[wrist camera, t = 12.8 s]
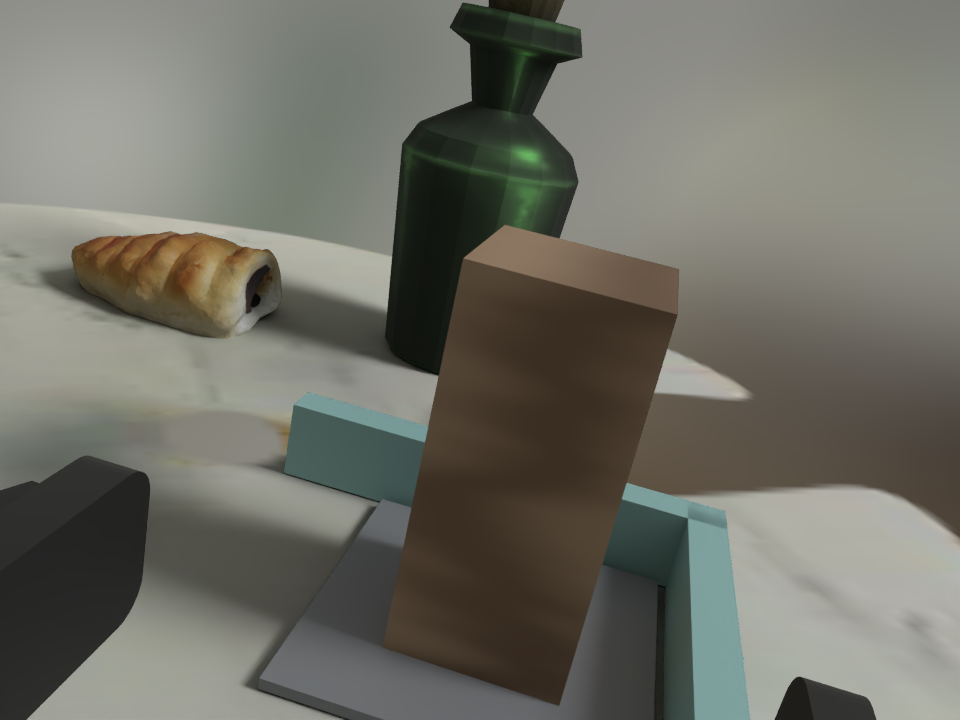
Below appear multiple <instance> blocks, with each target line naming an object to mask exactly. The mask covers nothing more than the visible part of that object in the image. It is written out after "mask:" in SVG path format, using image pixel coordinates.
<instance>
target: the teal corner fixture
mask: <svg viewBox="0 0 960 720" xmlns="http://www.w3.org/2000/svg"><path fill="white" fill-rule="evenodd" d="M427 430H428V426H425V425H422V424H418V423H415V422H411V421H408V420H404V419H401V418H397V417H394V416H390V415H387V414H383V413H380V412H376V411H373V410H369V409H366V408H362V407H359V406H355V405H352V404H348V403H345V402H341V401H338V400H334V399H331V398H327V397H324V396H320V395H317V394H313V393H310V392H308V393H307V394H306V395H304V396H303V397H302V398H301V399H300V400H299V401H298V402H296V403H295V404H294V407H293V414H292V421H291V427H290V434H289V441H288V448H287V454H286V461H285V468H284V473H286V474H289V475H293V476H296V477H299V478H303V479H306V480H310V481H313V482H316V483H320V484H323V485H326V486H330V487H333V488H336V489H340V490H343V491H346V492H350V493H353V494H356V495H360V496H363V497H366V498H370V499H373V500H376V501H380V503H379V505H378V506H377V508H376V509H375V510H374V512H373V513H372V515H371V516H370V518H369V519H368V521H367V522H366V524H365V525H364V526H363V528H362V529H361V531H360V532H359V534H358V535H357V537H356V538H355V540H354V541H353V542H352V544H351V545H350V547H349V548H348V550H347V551H346V553H345V554H344V555H343V557H342V558H341V560H340V561H339V563H338V564H337V566H336V567H335V569H334V570H333V571H332V573H331V574H330V576H329V577H328V579H327V580H326V582H325V583H324V585H323V586H322V587H321V589H320V590H319V592H318V593H317V595H316V596H315V598H314V599H313V601H312V602H311V603H310V605H309V606H308V608H307V609H306V611H305V612H304V614H303V615H302V617H301V618H300V619H299V621H298V622H297V624H296V625H295V627H294V628H293V630H292V631H291V632H290V634H289V635H288V637H287V638H286V640H285V641H284V643H283V644H282V646H281V647H280V648H279V650H278V651H277V653H276V654H275V656H274V657H273V659H272V660H271V662H270V663H269V664H268V666H267V667H266V669H265V670H264V672H263V673H262V675H261V676H260V678H259V682H258V688H257V689H260V690H263V691H266V692H269V693H272V694H275V695H278V696H281V697H284V698H287V699H290V700H293V701H296V702H299V703H302V704H305V705H308V706H311V707H314V708H317V709H320V710H323V711H326V712H329V713H332V714H335V715H338V716H341V717H344V718H347V719H350V720H654V702H655V669H656V635H657V602H658V585H661V586H664V587H665V624H664V686H663V720H750V714H749V705H748V697H747V688H746V680H745V672H744V663H743V655H742V647H741V638H740V630H739V622H738V613H737V605H736V596H735V588H734V580H733V571H732V563H731V555H730V546H729V538H728V529H727V521H726V513H725V511H723V510H719V509H716V508H712V507H709V506H705V505H702V504H698V503H695V502H691V501H688V500H684V499H681V498H677V497H674V496H670V495H667V494H663V493H660V492H656V491H653V490H649V489H645V488H642V487H639V486H635V485H632V484H628V483H626V487H625V490H624V493H623V497H622V500H621V503H620V507H619V510H618V513H617V517H616V520H615V523H614V526H613V530H612V533H611V536H610V540H609V543H608V546H607V550H606V553H605V556H604V560H603V563H602V566H601V569H600V573H599V576H598V579H597V583H596V586H595V589H594V593H593V596H592V599H591V603H590V606H589V609H588V613H587V616H586V619H585V622H584V626H583V629H582V632H581V636H580V639H579V642H578V646H577V649H576V652H575V656H574V659H573V662H572V665H571V669H570V672H569V675H568V679H567V682H566V685H565V689H564V692H563V695H562V699H561V702H560V705H559V706H558V705H555V704H552V703H549V702H546V701H543V700H540V699H537V698H534V697H531V696H528V695H524V694H521V693H518V692H515V691H512V690H509V689H506V688H503V687H500V686H497V685H494V684H491V683H488V682H485V681H482V680H479V679H476V678H473V677H470V676H467V675H464V674H461V673H458V672H455V671H452V670H449V669H446V668H443V667H440V666H437V665H434V664H431V663H428V662H425V661H422V660H419V659H416V658H413V657H410V656H407V655H404V654H401V653H398V652H395V651H392V650H389V649H386V648H383V642H384V637H385V632H386V627H387V623H388V618H389V613H390V608H391V603H392V599H393V594H394V589H395V584H396V579H397V575H398V570H399V565H400V560H401V555H402V551H403V546H404V541H405V536H406V531H407V527H408V522H409V517H410V512H411V507H412V502H413V498H414V493H415V488H416V483H417V478H418V474H419V469H420V464H421V459H422V454H423V450H424V445H425V440H426V435H427Z"/></svg>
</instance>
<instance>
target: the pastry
mask: <svg viewBox="0 0 960 720" xmlns="http://www.w3.org/2000/svg"><path fill="white" fill-rule="evenodd" d="M71 257H72V261H73V266H74V270H75V273H76V275H77V277H78V280H79V283H80V285H81V286H82V287H83V288H84V289H86V290H87V291H88V292H89V293H91V294H93V295H96V296H99V297H101V298H104V299H105V300H107V301H108V302H109V303H111V304H113V305H115V306H117V307H118V308H119V309H120V310H121V311H123V312H125V313H127V314H131V315H138V316H141V317H143V318H146V319H149V320H152V321H156V322H159V323H162V324H164V325H167V326H170V327H173V328H177V329H180V330H183V331H187V332H191V333H194V334H198V335H204V336H208V337H214V338H231V337H232V336H239V335H242V334H244V333H246V332H247V331H249V330H250V329H251V328H252V327H253V326H254V325H255V324H256V322H257V321H258V319H260V318H261V317H263V316H265V315H267V314H269V313H271V312H272V311H274V310H276V309H277V308H278V307H279V305H280V302H281V298H282V289H281V276H280V270H279V266H278V263H277V260H276V258H275V256H274V255H273V253H272V252H271V251H270V250H268V249H265V250H260V249H252V248H249V247H241V246H238V245H236V244H235V243H233V242H231V241H228V240H226V239H221V238H216V237H213V236H209V235H206V234H203V233H197V232H195V233H192V234H184V235H180V234H178V233H175V232H172V231H170V232H164V233H160V234H146V235H141V236H124V237H121V236H107V237H99V238H95V239H93V240H90V241H88V242H85V243H82V244H80V245H78V246H75V248H74V249H73V250H72V256H71Z"/></svg>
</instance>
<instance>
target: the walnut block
mask: <svg viewBox="0 0 960 720" xmlns="http://www.w3.org/2000/svg"><path fill="white" fill-rule="evenodd" d="M678 288H679V269H676V268H672V267H669V266H664V265H661V264H657V263H653V262H649V261H645V260H641V259H637V258H633V257H629V256H625V255H621V254H618V253H613V252H610V251H606V250H601V249H598V248H594V247H590V246H586V245H582V244H578V243H574V242H570V241H567V240H562V239H559V238H555V237H551V236H547V235H543V234H539V233H535V232H531V231H527V230H523V229H519V228H516V227H512V226H508V225H504V226H503V227H502V228H500V229H499V230H498V231H497V232H495V233H494V234H493V235H492V236H490V237H489V238H488V239H487V240H485V241H484V242H483V243H482V244H481V245H479V246H478V247H477V248H476V249H474V250H473V251H472V252H471V253H469V254H468V255H467V256H466V257H464V258H463V262H462V267H461V272H460V276H459V281H458V286H457V291H456V296H455V301H454V305H453V310H452V315H451V320H450V325H449V329H448V334H447V339H446V344H445V349H444V353H443V358H442V363H441V368H440V373H439V377H438V382H437V387H436V392H435V397H434V401H433V406H432V411H431V416H430V421H429V426H428V430H427V435H426V440H425V445H424V450H423V454H422V459H421V464H420V469H419V474H418V478H417V483H416V488H415V493H414V498H413V502H412V507H411V512H410V517H409V522H408V527H407V531H406V536H405V541H404V546H403V551H402V555H401V560H400V565H399V570H398V575H397V579H396V584H395V589H394V594H393V599H392V603H391V608H390V613H389V618H388V623H387V627H386V632H385V637H384V642H383V648H386V649H389V650H392V651H395V652H398V653H401V654H404V655H407V656H410V657H413V658H416V659H419V660H422V661H425V662H428V663H431V664H434V665H437V666H440V667H443V668H446V669H449V670H452V671H455V672H458V673H461V674H464V675H467V676H470V677H473V678H476V679H479V680H482V681H485V682H488V683H491V684H494V685H497V686H500V687H503V688H506V689H509V690H512V691H515V692H518V693H521V694H524V695H528V696H531V697H534V698H537V699H540V700H543V701H546V702H549V703H552V704H555V705H558V706H559V705H560V702H561V699H562V695H563V692H564V689H565V685H566V682H567V679H568V675H569V672H570V669H571V665H572V662H573V659H574V656H575V652H576V649H577V646H578V642H579V639H580V636H581V632H582V629H583V626H584V622H585V619H586V616H587V613H588V609H589V606H590V603H591V599H592V596H593V593H594V589H595V586H596V583H597V579H598V576H599V573H600V569H601V566H602V563H603V560H604V556H605V553H606V550H607V546H608V543H609V540H610V536H611V533H612V530H613V526H614V523H615V520H616V517H617V513H618V510H619V507H620V503H621V500H622V497H623V493H624V490H625V487H626V483H627V480H628V477H629V474H630V470H631V467H632V463H633V460H634V457H635V454H636V450H637V447H638V444H639V440H640V437H641V434H642V430H643V427H644V424H645V421H646V417H647V414H648V411H649V407H650V404H651V401H652V397H653V394H654V391H655V388H656V384H657V381H658V378H659V374H660V371H661V368H662V364H663V361H664V358H665V354H666V351H667V348H668V345H669V341H670V338H671V335H672V331H673V328H674V324H675V321H676V318H677V315H678Z"/></svg>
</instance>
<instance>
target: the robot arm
mask: <svg viewBox="0 0 960 720" xmlns="http://www.w3.org/2000/svg"><path fill="white" fill-rule="evenodd" d="M149 497H150V483H149V479H148V477H147V475H146V474H145V473H143V472H140V471H137V470H134V469H131V468H127V467H124V466H121V465H118V464H114V463H111V462H108V461H105V460H101V459H98V458H95V457H92V456H83V457H80V458H79V459H77V460H75V461H74V462H72V463H70V464H69V465H67V466H66V467H64V468H63V469H61V470H60V471H58V472H57V473H55V474H54V475H52V476H50V477H49V478H47V479H46V480H44V481H43V482H41V483H37V482H34V481H29V482H26V483H23V484H20V485H17V486H13V487H10V488H7V489H4V490H0V720H26V719H27V718H28V717H29V716H30V715H31V714H32V713H33V712H34V711H35V710H36V709H37V708H38V707H39V706H40V705H41V704H42V703H43V702H44V701H45V700H46V699H47V698H48V697H49V696H50V695H51V694H52V693H53V692H54V691H55V690H56V689H57V688H58V687H59V686H60V685H61V684H62V683H63V682H64V681H65V680H66V679H67V678H68V677H69V676H70V675H71V674H72V673H73V672H74V671H75V670H76V669H77V668H78V667H79V666H80V665H81V664H82V663H83V662H84V661H85V660H86V659H87V658H88V657H89V656H90V655H91V654H92V653H93V652H94V651H95V650H96V649H97V648H98V647H99V646H100V645H101V644H102V643H103V642H104V641H105V640H106V639H107V638H108V637H109V636H110V635H111V634H112V633H113V632H114V631H115V630H116V629H117V628H118V627H119V626H120V625H121V624H122V623H123V621H124V620H125V618H126V617H127V615H128V614H129V612H130V610H131V608H132V607H133V604H134V602H135V600H136V598H137V595H138V592H139V589H140V585H141V581H142V574H143V563H144V552H145V541H146V530H147V519H148V508H149ZM775 720H876V717H875V714H874V711H873V707H872V705H871V703H870V701H869V700H868V699H867V698H866V697H864V696H861V695H858V694H854V693H851V692H848V691H845V690H841V689H838V688H835V687H832V686H828V685H825V684H822V683H819V682H815V681H812V680H809V679H806V678H802V677H796V678H795V679H794V680H793V681H792V682H791V684H790V686H789V687H788V689H787V691H786V694H785V696H784V698H783V701H782V703H781V706H780V708H779V710H778V713H777V715H776V717H775Z"/></svg>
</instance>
